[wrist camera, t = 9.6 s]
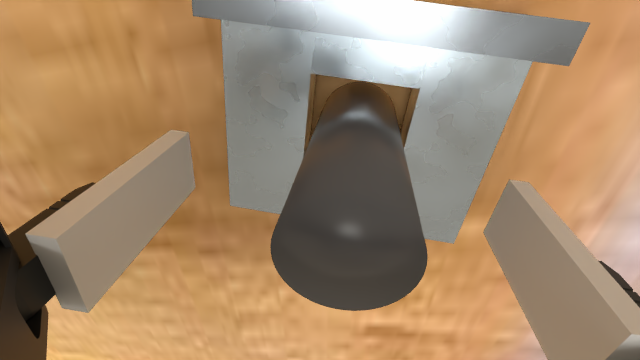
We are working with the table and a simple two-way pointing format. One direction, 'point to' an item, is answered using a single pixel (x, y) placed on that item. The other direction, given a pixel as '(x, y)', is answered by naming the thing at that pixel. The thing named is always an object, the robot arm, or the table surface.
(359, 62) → the plate
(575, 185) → the table surface
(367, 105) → the dark grey round peg
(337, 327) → the table surface
